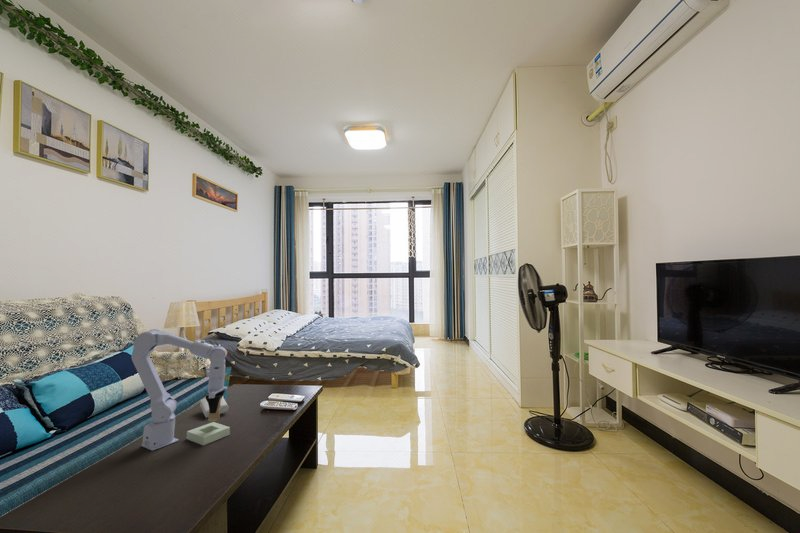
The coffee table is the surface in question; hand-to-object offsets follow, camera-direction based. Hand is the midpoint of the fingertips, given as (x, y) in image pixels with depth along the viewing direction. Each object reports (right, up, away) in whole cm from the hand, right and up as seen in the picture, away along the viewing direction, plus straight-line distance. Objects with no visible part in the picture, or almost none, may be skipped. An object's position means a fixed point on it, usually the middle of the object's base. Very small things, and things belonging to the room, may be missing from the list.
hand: (214, 410), depth 134 cm
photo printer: (-10, -9, +20) cm, 25 cm away
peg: (0, -3, 0) cm, 3 cm away
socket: (-2, -10, -1) cm, 10 cm away
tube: (-16, -12, +33) cm, 39 cm away
